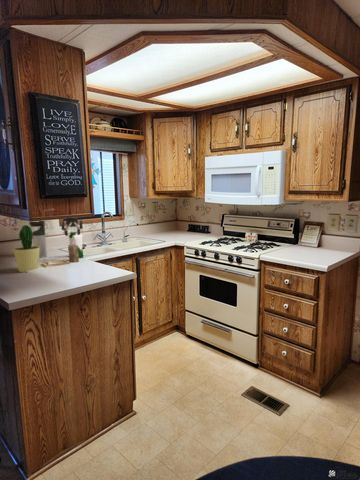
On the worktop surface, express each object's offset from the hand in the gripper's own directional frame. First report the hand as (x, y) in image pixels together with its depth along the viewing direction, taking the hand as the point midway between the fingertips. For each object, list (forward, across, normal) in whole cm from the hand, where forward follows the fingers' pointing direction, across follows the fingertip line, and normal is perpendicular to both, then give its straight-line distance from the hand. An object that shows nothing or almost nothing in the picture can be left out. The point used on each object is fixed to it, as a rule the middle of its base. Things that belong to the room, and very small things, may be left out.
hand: (72, 235), depth 224 cm
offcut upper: (+18, -14, 0) cm, 23 cm away
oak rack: (+20, -14, -2) cm, 24 cm away
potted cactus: (+20, -32, -3) cm, 37 cm away
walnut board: (+19, 0, 0) cm, 19 cm away
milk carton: (+20, +8, +16) cm, 27 cm away
